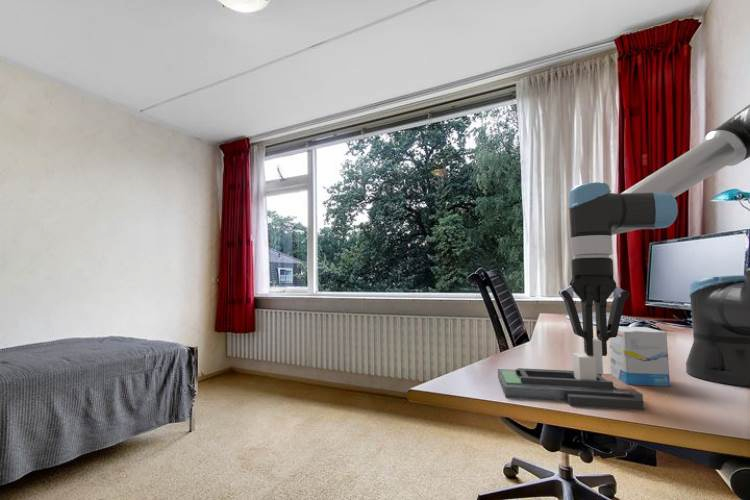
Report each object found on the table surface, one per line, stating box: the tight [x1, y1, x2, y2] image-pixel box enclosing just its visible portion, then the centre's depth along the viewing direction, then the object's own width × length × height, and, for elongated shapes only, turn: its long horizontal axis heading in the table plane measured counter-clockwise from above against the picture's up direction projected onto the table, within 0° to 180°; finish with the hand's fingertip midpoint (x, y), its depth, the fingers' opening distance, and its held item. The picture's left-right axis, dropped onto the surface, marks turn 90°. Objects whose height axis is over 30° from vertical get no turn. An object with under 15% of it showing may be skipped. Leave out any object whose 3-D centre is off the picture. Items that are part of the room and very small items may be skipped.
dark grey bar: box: [567, 394, 645, 411], centre depth 66 cm, size 12×2×2 cm, turn 77°
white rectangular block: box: [572, 352, 597, 380], centre depth 75 cm, size 3×4×5 cm
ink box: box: [608, 325, 671, 387], centre depth 83 cm, size 8×8×12 cm
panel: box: [497, 368, 644, 402], centre depth 76 cm, size 24×14×3 cm, turn 77°
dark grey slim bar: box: [517, 367, 604, 374], centre depth 85 cm, size 18×2×2 cm, turn 77°
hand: (596, 371), depth 75 cm, fingers closed
